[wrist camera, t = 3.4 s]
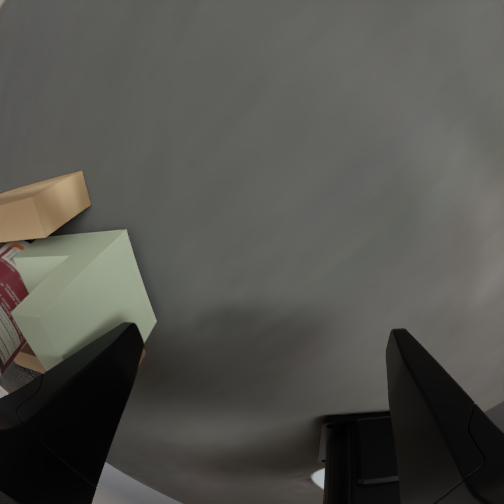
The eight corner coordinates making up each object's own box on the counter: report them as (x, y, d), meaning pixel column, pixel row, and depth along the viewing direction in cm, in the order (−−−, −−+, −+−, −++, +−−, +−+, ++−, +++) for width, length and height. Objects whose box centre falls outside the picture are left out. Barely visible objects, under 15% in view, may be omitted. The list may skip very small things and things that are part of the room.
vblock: (76, 413, 23) (62, 437, 20) (35, 398, 24) (22, 418, 21) (10, 317, 17) (-13, 343, 15) (-24, 310, 18) (-44, 331, 16)
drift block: (156, 321, 14) (104, 417, 9) (71, 313, 15) (16, 385, 10) (126, 229, 12) (38, 317, 7) (38, 237, 13) (-38, 302, 8)
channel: (146, 352, 16) (123, 395, 13) (39, 334, 17) (16, 364, 15) (82, 170, 11) (32, 196, 8) (-20, 200, 13) (-56, 223, 10)
